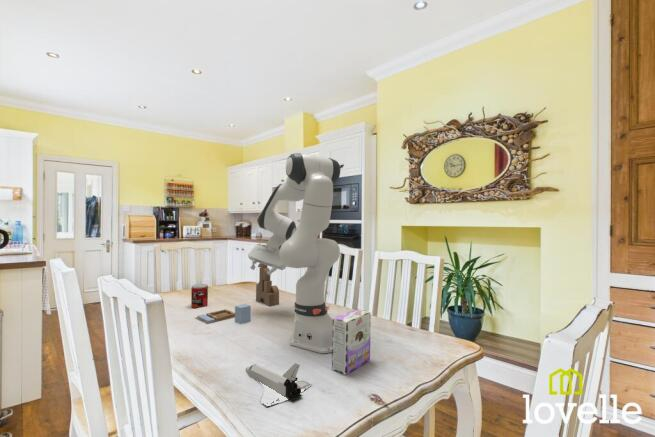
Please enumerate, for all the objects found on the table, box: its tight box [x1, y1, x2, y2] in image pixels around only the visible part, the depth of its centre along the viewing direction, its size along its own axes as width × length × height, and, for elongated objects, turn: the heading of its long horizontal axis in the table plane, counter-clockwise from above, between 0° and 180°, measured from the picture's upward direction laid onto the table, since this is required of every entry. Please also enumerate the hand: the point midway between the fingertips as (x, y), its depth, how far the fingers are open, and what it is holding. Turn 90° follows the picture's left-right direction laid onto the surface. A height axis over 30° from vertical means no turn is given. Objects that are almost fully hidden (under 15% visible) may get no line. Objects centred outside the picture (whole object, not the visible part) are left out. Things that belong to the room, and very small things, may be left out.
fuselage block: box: [234, 303, 252, 325], centre depth 145 cm, size 4×5×8 cm
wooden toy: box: [255, 263, 280, 307], centre depth 181 cm, size 15×7×25 cm, turn 42°
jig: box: [194, 309, 235, 325], centre depth 150 cm, size 12×16×2 cm
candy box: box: [331, 308, 371, 376], centre depth 106 cm, size 14×6×16 cm, turn 141°
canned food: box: [190, 283, 209, 310], centre depth 171 cm, size 8×8×11 cm
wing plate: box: [197, 314, 216, 324], centre depth 146 cm, size 10×3×1 cm, turn 47°
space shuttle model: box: [245, 363, 312, 405], centre depth 94 cm, size 16×25×10 cm, turn 46°
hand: (259, 271), depth 154 cm, fingers open, 8 cm apart
